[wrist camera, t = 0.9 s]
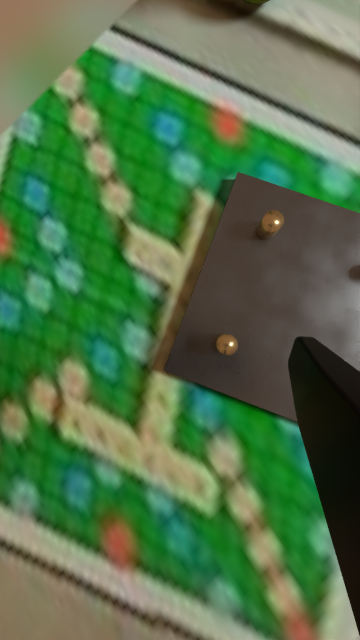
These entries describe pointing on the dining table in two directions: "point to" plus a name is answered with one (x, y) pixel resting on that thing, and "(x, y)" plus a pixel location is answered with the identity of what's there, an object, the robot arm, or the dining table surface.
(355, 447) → the robot arm
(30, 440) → the dining table surface
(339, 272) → the standoff plate
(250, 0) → the snail figurine
